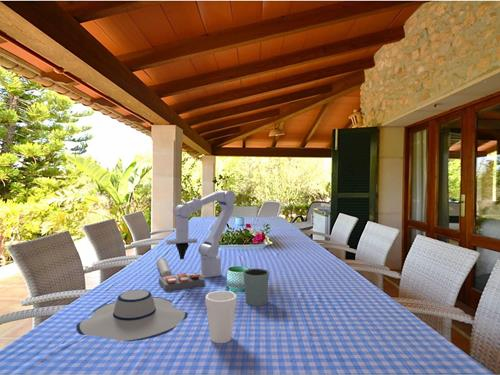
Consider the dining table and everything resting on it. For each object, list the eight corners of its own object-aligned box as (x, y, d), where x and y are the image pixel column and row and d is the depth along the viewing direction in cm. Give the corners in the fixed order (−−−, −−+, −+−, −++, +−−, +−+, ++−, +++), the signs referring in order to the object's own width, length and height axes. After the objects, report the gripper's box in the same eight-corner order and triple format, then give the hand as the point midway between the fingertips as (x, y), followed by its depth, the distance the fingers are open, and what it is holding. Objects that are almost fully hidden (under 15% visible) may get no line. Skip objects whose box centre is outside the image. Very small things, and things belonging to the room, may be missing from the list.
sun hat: (94, 304, 134) (94, 281, 134) (187, 298, 140) (187, 276, 140) (59, 349, 99) (59, 317, 98) (186, 339, 105) (186, 310, 104)
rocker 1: (173, 277, 155) (173, 274, 155) (176, 282, 150) (176, 279, 150) (165, 278, 154) (165, 275, 154) (168, 283, 148) (168, 280, 148)
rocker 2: (185, 274, 158) (185, 272, 158) (188, 281, 153) (189, 279, 152) (177, 275, 156) (177, 273, 156) (180, 282, 151) (181, 280, 151)
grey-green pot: (250, 308, 128) (250, 276, 128) (239, 299, 137) (239, 270, 136) (273, 303, 133) (273, 273, 132) (261, 295, 142) (261, 267, 141)
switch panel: (196, 278, 166) (196, 271, 166) (204, 285, 155) (204, 278, 155) (158, 283, 158) (158, 276, 158) (165, 290, 147) (165, 283, 147)
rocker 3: (196, 276, 160) (196, 274, 160) (200, 276, 155) (200, 274, 155) (189, 277, 159) (189, 274, 159) (193, 277, 153) (192, 275, 154)
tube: (174, 271, 164) (167, 259, 187) (163, 269, 162) (158, 256, 186) (170, 282, 164) (164, 268, 187) (159, 279, 162) (155, 266, 185)
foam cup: (206, 331, 109) (206, 291, 108) (235, 330, 109) (235, 290, 109) (205, 346, 99) (204, 302, 99) (236, 345, 100) (236, 301, 99)
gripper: (169, 232, 154) (168, 262, 155) (199, 230, 161) (199, 259, 161) (165, 230, 161) (164, 258, 161) (195, 228, 167) (194, 256, 167)
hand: (181, 258), depth 161 cm, fingers closed
